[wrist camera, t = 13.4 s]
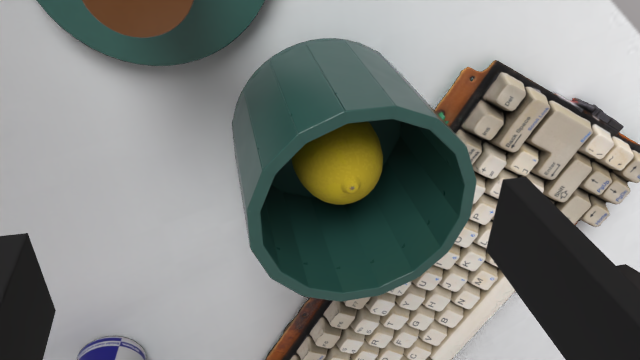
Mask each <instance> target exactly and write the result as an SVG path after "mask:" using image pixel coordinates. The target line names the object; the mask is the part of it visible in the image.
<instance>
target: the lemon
mask: <svg viewBox="0 0 640 360" xmlns="http://www.w3.org/2000/svg"><path fill="white" fill-rule="evenodd" d="M291 159H292V164H293V168H294V170H295V173H296V174H297V176H298V178H299V180H300V182H301V183H302V184H303V186H304V187H305V188H306V189H307V190H308V191H309V192H310V193H311V194H312V195H313V196H315V197H317V198H318V199H320V200H322V201H324V202H327V203H331V204H337V205H344V204H350V203H353V202H356V201H358V200H360V199H362V198H363V197H365V196H367V195H368V194H369V193H370V192H371V191H372V190H373V189H374V187H375V186H376V184H377V182H378V181H379V178H380V175H381V172H382V166H383V154H382V149H381V145H380V141H379V138H378V136H377V134H376V132H375V131H374V129H373V127H372V126H371V124H370V123H369V122H358V123H349V124H345V125H343V126H341V127H339V128H337V129H335V130H333V131H331V132H329V133H327V134H325V135H323V136H321V137H319V138H316V139H314V140H312V141H310V142H308V143H306V144H305V145H304V146H303V147H302V148H301V149H300V150H299V151H298V152H297V153H296V154H295V155H294V156H293V157H292V158H291Z"/></svg>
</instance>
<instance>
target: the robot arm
mask: <svg viewBox="0 0 640 360" xmlns="http://www.w3.org/2000/svg"><path fill="white" fill-rule="evenodd" d="M486 251H487V253H488V254H489V255H490V257H491V258H492V259H493V261H494V262H495V263H496V265H497V266H498V268H499V269H500V270H501V272H502V273H503V274H504V276H505V277H506V279H507V280H508V281H509V283H510V284H511V285H512V287H513V288H514V289H515V291H516V292H517V294H518V295H519V296H520V298H521V299H522V300H523V302H524V303H525V305H526V306H527V307H528V309H529V310H530V311H531V313H532V314H533V315H534V317H535V318H536V320H537V321H538V322H539V324H540V325H541V326H542V328H543V329H544V331H545V332H546V333H547V335H548V336H549V337H550V339H551V340H552V341H553V343H554V344H555V346H556V347H557V348H558V350H559V351H560V352H561V354H562V355H563V357H564V358H565V359H566V360H640V273H639V272H638V271H636V270H634V269H633V268H631V267H629V266H628V265H626V264H625V265H619V266H615V265H614V264H613V263H612V262H611V261H610V260H609V259H608V258H607V257H606V256H605V255H604V254H603V253H602V252H601V251H600V250H599V249H598V248H597V247H596V246H595V245H594V244H593V243H592V242H591V241H590V240H589V239H588V238H587V237H586V236H585V235H584V234H583V233H582V232H581V231H580V230H579V229H578V228H577V227H576V226H575V225H574V224H573V223H572V222H571V221H570V220H569V219H568V218H567V217H566V216H565V215H564V214H563V213H562V212H561V211H560V210H559V209H558V208H557V207H556V206H555V205H554V204H553V203H552V202H551V201H550V200H549V199H548V198H547V197H546V196H545V195H544V194H543V193H542V192H541V191H540V190H539V189H538V188H537V187H536V186H535V185H534V184H533V183H532V182H531V181H530V180H529V179H528V178H527V177H519V178H510V179H503V181H502V185H501V189H500V194H499V198H498V202H497V206H496V210H495V215H494V219H493V223H492V227H491V231H490V236H489V240H488V244H487V248H486ZM55 311H56V310H55V308H54V305H53V302H52V299H51V297H50V294H49V291H48V288H47V285H46V283H45V280H44V277H43V274H42V272H41V269H40V266H39V263H38V261H37V258H36V255H35V252H34V250H33V247H32V244H31V241H30V238H29V236H28V233H26V234H17V235H8V236H0V360H43V356H44V352H45V349H46V345H47V341H48V337H49V334H50V330H51V326H52V322H53V318H54V315H55Z"/></svg>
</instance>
